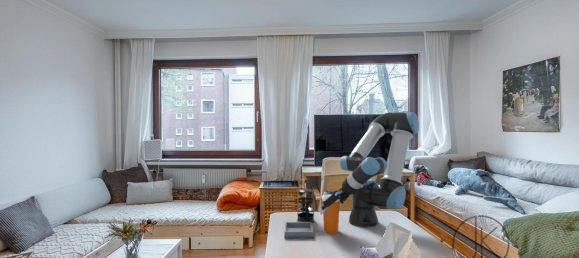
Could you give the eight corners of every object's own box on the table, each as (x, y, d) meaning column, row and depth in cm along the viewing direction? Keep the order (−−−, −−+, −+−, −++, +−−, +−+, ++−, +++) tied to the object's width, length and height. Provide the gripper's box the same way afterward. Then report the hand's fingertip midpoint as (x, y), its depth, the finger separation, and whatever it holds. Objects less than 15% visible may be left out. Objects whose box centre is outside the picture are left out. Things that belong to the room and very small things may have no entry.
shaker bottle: (339, 234, 143) (339, 193, 142) (321, 233, 145) (321, 192, 144) (340, 228, 152) (340, 189, 151) (322, 227, 153) (322, 188, 153)
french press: (316, 223, 159) (316, 180, 158) (298, 224, 157) (298, 181, 157) (311, 216, 170) (311, 176, 170) (295, 217, 169) (295, 177, 168)
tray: (311, 227, 153) (311, 221, 153) (313, 238, 139) (313, 231, 139) (285, 227, 153) (284, 221, 153) (284, 238, 139) (284, 231, 139)
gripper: (344, 194, 129) (316, 221, 141) (370, 186, 144) (342, 211, 156) (334, 180, 133) (307, 208, 144) (360, 173, 148) (334, 199, 160)
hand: (325, 210), depth 150 cm, fingers closed on shaker bottle, 9 cm apart
